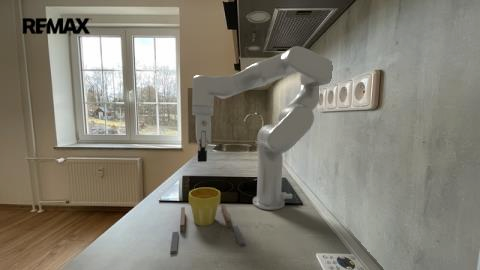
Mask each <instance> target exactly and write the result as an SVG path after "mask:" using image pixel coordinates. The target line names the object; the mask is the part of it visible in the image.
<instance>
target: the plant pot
mask: <svg viewBox="0 0 480 270" xmlns="http://www.w3.org/2000/svg"><path fill="white" fill-rule="evenodd" d="M221 196H222V195H221V191H220V190H218V189H216V188H215V187H198V188H194V189H192V190H189V193H188V205H189V206H190V208H191V212H192V218H193V222H194V223H195V225H198V226H200V227H204V226H206V227H207V226H209V225H212V224H213V223H214V222H215V219H216V216H217V210H218V206H219V205H220V203H221Z"/></svg>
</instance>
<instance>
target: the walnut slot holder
mask: <svg viewBox="0 0 480 270" xmlns="http://www.w3.org/2000/svg"><path fill="white" fill-rule="evenodd" d="M220 212H221V214H222V217H223V221H224V223H225V226H226V228H227V229H230V228H231V227H232V220H231V217H230V215H229V212H228V208H227V207H226V204H225V203H222V204H221V211H220ZM179 223H180V224H179V233H180V234H184V233H185V227H186V226H185V223H186V207H185V206H181V208H180V221H179Z"/></svg>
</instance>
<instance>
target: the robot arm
mask: <svg viewBox="0 0 480 270" xmlns="http://www.w3.org/2000/svg"><path fill="white" fill-rule="evenodd" d="M332 62H333V61H332V60H331V59H328V58H327V57H325V56H323V55H320V54H319V53H317V52H314V51H312V50H310V49H308V48H305V47H304V46H303V47H302V46H299V45H298V46H297V45H296V46H292V47H291V48H289V49H287V50H285V51H284V52H281V53H280V54H276V55H274V56H271V57H268V58H265V59H262V60H260V61H257V62H255V63H253V64H251V65H250V66H248V67H246V68H245V69H243V70H242V71H239V72H237V73H235V74H231V75H230V76H228V75H218V76H210V75H200V74H198V75H195V76H193V78H192V94H191V95H192V97H191V98H192V103H191V104H192V106H191V107H192V113H191V115H192V116H195V137H196V143H197V146H198V149H197V162H198V163H201V162H203V163H206V162H207V160H208V150H207V149H208V148H207V143H208V144H211V143H212V118H211V117H212V116H213V117H214V110H215V109H214V106H215V105H214V101H215V98H214V97H217V98H219V99H222V100H223V99H228V98H230V97H232V96H233V97H234V96H235V95H237V94H240V93H243V92H246V91H249V90H251V89H255V88H260V87H262V86H265V85H268V84H270V83H273V82H275V81H277V80H280V79H283V78H286V77H288V76H291V75H292V74H296V73H299V74H300V78H299V79H300V90H299V92H298V93H297V95H296V96H294V98H292V100H290V102H289V103H288V104H287V105H286V106H285V107H283V108H282V109H281V110H280V112H279V114H278V117H277V118H278V119H277V120H278V124H265V125H263V126H262V127H261V128H260V129H259V131H258V133H257V136H256V137H257V138H256V140H257V181H256V182H257V184H256V196H254V197H253V198H252V204H253V206H255V207H256V208H259V209H261V210H267V211H276V210H281V209H282V208H284V207H285V201H286V200H291V199H293V194H292V193H287V192H286V191H285V192H282V181H283V180H282V179H283V154H284V153H287V152H288V151H289V150H290V149H292V148H293V147H294V146H295V145H296V144H297V143H298V142H299V141H301V139H302V138H303V137H304V136H305V135H306V134H307V132H309V130H310V129H311V128H312V126H313V124H314V121H315V115H314V109H315V108H316V107H317V106H318V104H319V102H320V100H319V86H320V87H321V86H325V85H328V84H331V83H330V81H331V79H332V71H333V65H332Z"/></svg>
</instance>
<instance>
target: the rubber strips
mask: <svg viewBox="0 0 480 270" xmlns="http://www.w3.org/2000/svg"><path fill="white" fill-rule="evenodd" d="M232 231H233V233H234V237H235V239H236V242H237V245H238V246H239V247H240V246H245V244H246V242H245V240H244V237H243V235H242V233H241V230H240V228H239V226H238V225H232ZM171 235H172V236H171V244H170V249H169V250H170V251H169V254H170V255H175V254H176V255H177V254H178V245H179V244H178V243H179V231H172V234H171Z"/></svg>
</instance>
